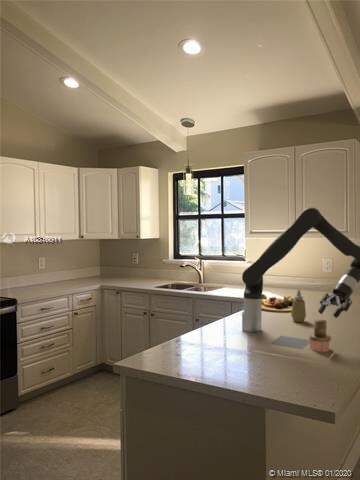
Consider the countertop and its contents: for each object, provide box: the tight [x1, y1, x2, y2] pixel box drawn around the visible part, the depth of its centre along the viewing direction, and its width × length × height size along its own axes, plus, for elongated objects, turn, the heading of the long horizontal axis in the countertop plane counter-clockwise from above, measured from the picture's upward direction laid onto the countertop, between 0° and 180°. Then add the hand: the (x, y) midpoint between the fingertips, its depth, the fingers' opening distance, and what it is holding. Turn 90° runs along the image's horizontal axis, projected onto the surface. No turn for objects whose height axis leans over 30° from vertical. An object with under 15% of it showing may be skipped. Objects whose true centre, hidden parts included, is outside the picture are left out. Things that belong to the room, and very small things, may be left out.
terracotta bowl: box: [309, 338, 331, 353], centre depth 179 cm, size 8×8×5 cm
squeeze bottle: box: [290, 289, 307, 323], centre depth 230 cm, size 8×8×18 cm
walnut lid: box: [309, 319, 332, 342], centre depth 179 cm, size 9×9×8 cm
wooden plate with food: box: [262, 293, 295, 313], centre depth 269 cm, size 32×32×8 cm
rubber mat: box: [269, 335, 310, 350], centre depth 189 cm, size 15×16×1 cm
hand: (327, 314), depth 180 cm, fingers open, 8 cm apart
